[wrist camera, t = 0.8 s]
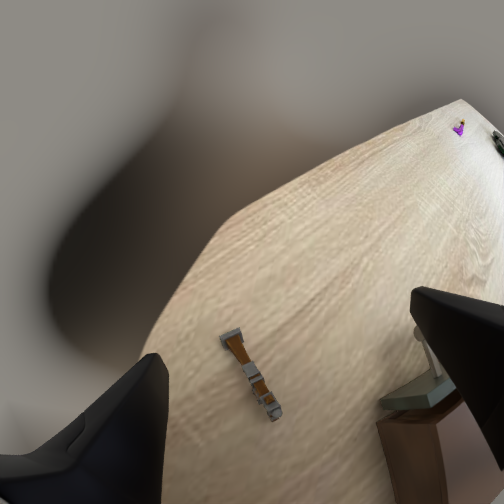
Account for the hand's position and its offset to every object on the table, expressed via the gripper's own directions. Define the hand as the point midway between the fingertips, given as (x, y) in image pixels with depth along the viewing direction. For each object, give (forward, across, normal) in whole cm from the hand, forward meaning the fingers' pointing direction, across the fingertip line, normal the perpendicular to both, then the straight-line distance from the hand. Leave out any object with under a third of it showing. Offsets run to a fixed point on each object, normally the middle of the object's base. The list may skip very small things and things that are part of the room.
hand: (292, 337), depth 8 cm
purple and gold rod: (+50, -62, -7) cm, 80 cm away
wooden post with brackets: (+10, +3, +11) cm, 15 cm away
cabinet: (+1, -14, +22) cm, 26 cm away
